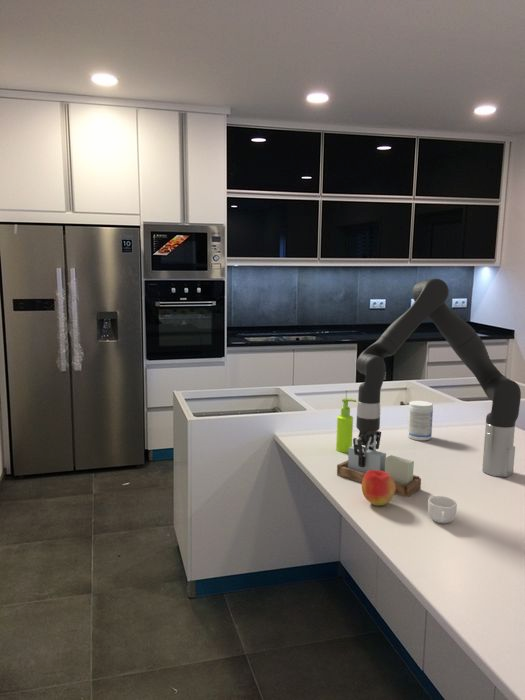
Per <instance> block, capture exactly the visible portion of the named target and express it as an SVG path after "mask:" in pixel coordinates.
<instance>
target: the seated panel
mask: <svg viewBox="0 0 525 700" xmlns="http://www.w3.org/2000/svg"><path fill="white" fill-rule="evenodd" d="M414 467H415V460H411V459H408V458H404V457H400V456H396V455H392V454H390V455H389V456H386V458H385V472H386V473H388V474H389V475H390V476H391V477H392V479H393V480H394V482H397V483H400V484H404V485H405V484H407V483H409V482H411V481H413V475H414Z"/></svg>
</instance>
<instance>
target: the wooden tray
mask: <svg viewBox="0 0 525 700" xmlns="http://www.w3.org/2000/svg"><path fill="white" fill-rule="evenodd" d="M336 465H337V466H336V476H338V477H342V478H345V479H348V480H352V481H354V480H355V481H354V482H357V481H358V483H361V484H362V481H363V477H364V475H365V474H366V473H363V472H360V471H356V470H353V469H350V468H348V459H347V460H346V461H343V462H341V463H338V464H336ZM394 483H395V486H396V490H395V494H396V493H397V495H399V496H403V497H406V498H408V497H409V498H410V496H412V495H414V494H415V493H417V492H419V491H420V490H421V488H422V487H421V486H422V485H421V484H422V478H420V476H419V475H415V474H413V481H411V482H409V483H407V484H405V485H404V484H400V483H397V482H394Z"/></svg>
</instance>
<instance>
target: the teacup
mask: <svg viewBox="0 0 525 700" xmlns="http://www.w3.org/2000/svg"><path fill="white" fill-rule="evenodd" d="M427 513H428V516H429V518H430V519H431V520H432V521H433V522H435V523H438V524H448V523H451V522H452V521H453V520H454V519H455V517H456V513H457V502H456V500H454V499H452V498H450V497H447V496H443V495H442V496H441V495H436V496H431V497H429V498H428V500H427Z"/></svg>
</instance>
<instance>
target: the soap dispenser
mask: <svg viewBox="0 0 525 700" xmlns="http://www.w3.org/2000/svg"><path fill="white" fill-rule="evenodd" d="M341 401H342V402H343V406H342V407H341V408H340V415H337V418H336V419H337V420H336V422H337V423H336V444H335V445H336V448H335V451H337V452H339V453H349V447H352V446H353V429H354V426H353V424H354V417H353V415H350V414H351V412H350V411H351V408H350V407H349V402H353V403H357V399H354V398H341Z"/></svg>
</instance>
